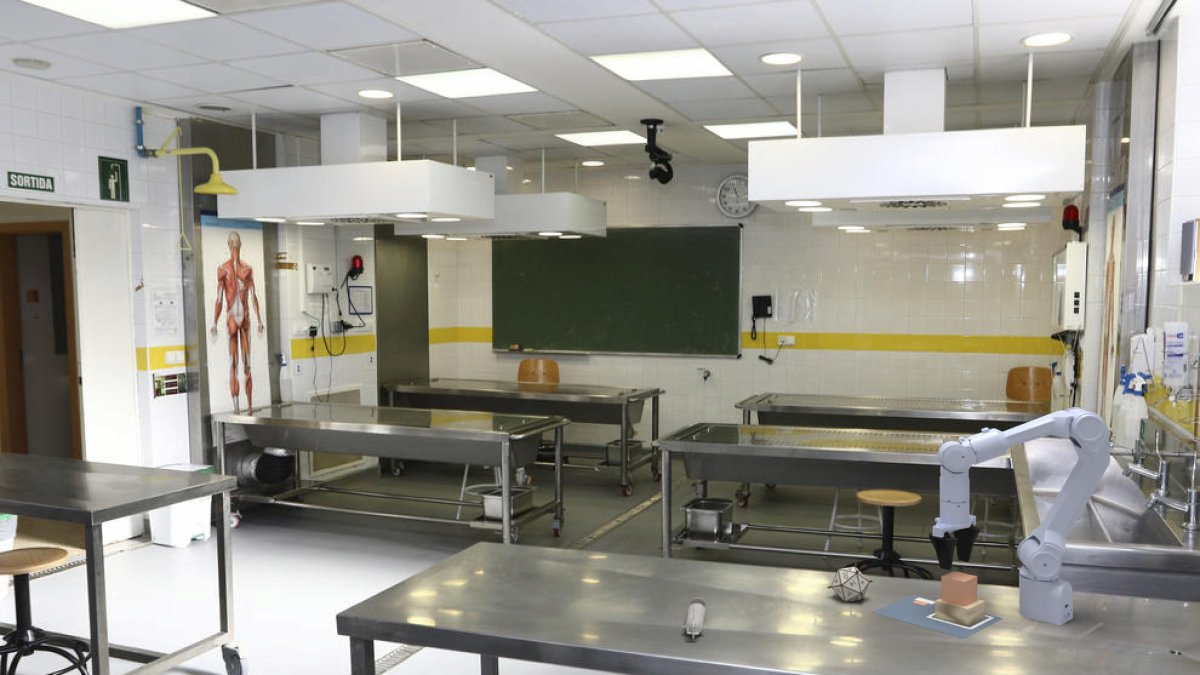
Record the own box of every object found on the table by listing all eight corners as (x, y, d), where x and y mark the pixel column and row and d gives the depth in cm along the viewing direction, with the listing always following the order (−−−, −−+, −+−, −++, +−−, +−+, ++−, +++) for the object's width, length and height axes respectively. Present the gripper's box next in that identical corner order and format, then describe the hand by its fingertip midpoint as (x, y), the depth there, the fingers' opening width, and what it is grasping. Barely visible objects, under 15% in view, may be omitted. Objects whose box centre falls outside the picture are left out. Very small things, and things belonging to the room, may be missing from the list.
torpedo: (686, 611, 194) (686, 581, 194) (708, 612, 193) (708, 581, 193) (680, 643, 176) (680, 610, 176) (705, 644, 176) (704, 610, 175)
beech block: (985, 617, 184) (985, 600, 184) (968, 626, 179) (968, 609, 179) (952, 609, 189) (952, 592, 189) (935, 617, 185) (935, 600, 184)
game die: (858, 621, 196) (875, 593, 190) (820, 605, 197) (836, 577, 191) (863, 590, 203) (879, 562, 197) (826, 575, 204) (841, 547, 198)
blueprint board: (1003, 621, 184) (1003, 617, 184) (963, 642, 173) (963, 637, 173) (913, 598, 199) (913, 594, 199) (872, 615, 188) (872, 611, 188)
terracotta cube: (977, 600, 184) (977, 576, 184) (964, 606, 181) (964, 581, 180) (954, 594, 188) (954, 571, 188) (941, 600, 184) (941, 576, 184)
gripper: (953, 491, 195) (953, 554, 196) (918, 502, 186) (918, 568, 186) (985, 496, 190) (985, 560, 190) (951, 508, 180) (951, 575, 181)
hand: (954, 564), depth 188 cm, fingers open, 7 cm apart
